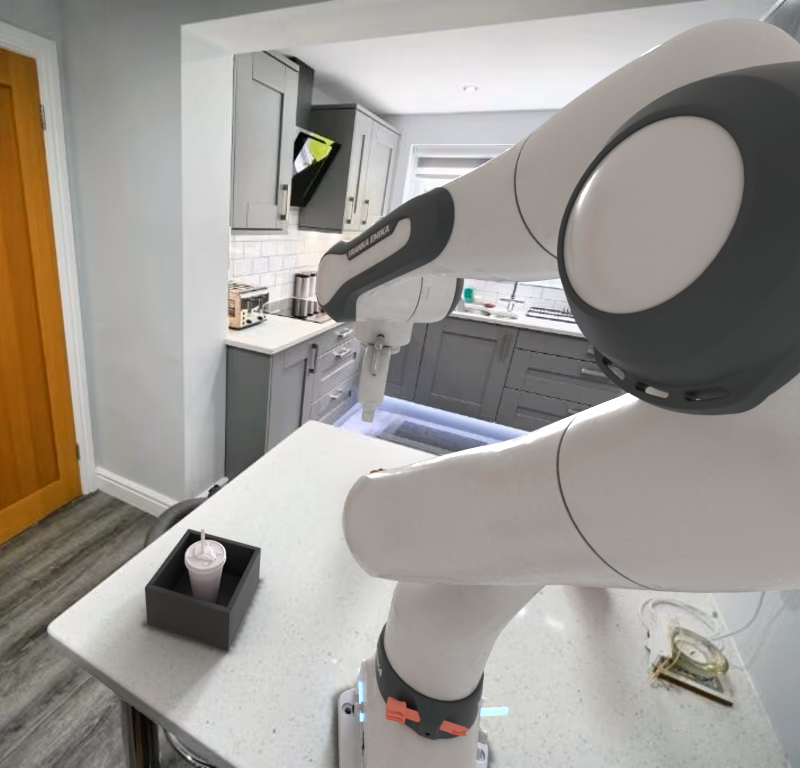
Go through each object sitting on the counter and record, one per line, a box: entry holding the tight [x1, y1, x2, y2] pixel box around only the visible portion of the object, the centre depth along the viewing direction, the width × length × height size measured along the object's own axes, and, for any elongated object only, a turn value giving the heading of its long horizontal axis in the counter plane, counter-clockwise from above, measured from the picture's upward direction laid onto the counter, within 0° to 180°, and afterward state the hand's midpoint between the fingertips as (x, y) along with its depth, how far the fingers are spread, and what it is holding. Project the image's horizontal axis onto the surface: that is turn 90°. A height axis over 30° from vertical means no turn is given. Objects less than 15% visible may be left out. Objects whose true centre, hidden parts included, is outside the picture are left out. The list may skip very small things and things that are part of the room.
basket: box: [144, 528, 262, 651], centre depth 71 cm, size 14×14×8 cm
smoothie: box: [185, 528, 226, 604], centre depth 69 cm, size 6×6×14 cm
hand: (369, 407), depth 73 cm, fingers open, 8 cm apart
